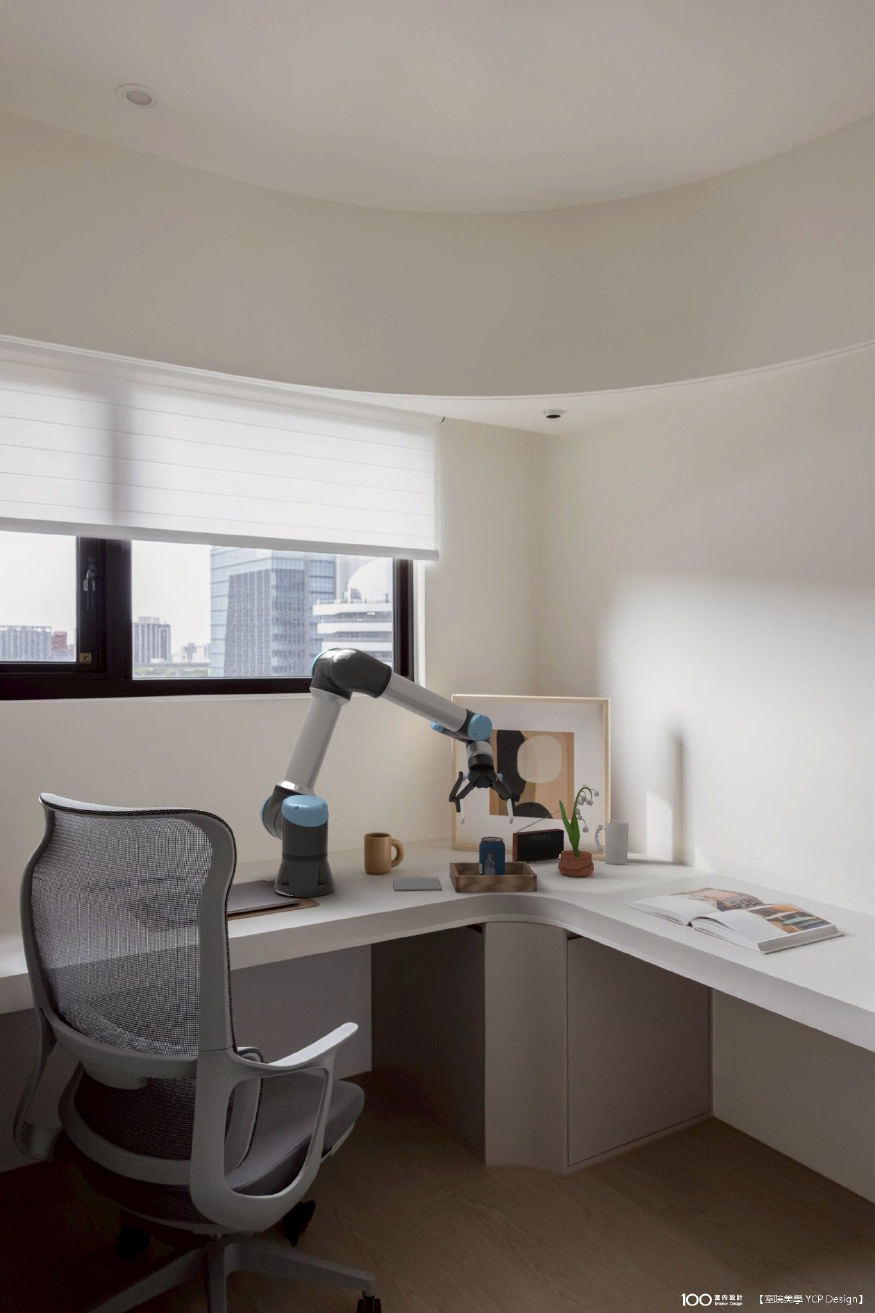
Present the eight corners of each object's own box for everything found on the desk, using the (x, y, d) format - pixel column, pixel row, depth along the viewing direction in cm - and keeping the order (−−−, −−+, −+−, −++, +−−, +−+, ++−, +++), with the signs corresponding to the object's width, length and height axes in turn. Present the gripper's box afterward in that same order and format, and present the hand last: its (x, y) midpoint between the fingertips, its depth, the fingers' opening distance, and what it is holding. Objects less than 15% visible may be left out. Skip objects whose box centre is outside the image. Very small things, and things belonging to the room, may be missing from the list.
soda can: (498, 880, 245) (499, 835, 245) (509, 886, 239) (509, 840, 239) (474, 881, 243) (475, 837, 243) (484, 888, 236) (485, 842, 236)
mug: (631, 861, 269) (631, 821, 269) (624, 866, 263) (624, 824, 263) (598, 857, 273) (598, 818, 273) (590, 862, 268) (591, 821, 268)
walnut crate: (455, 892, 232) (455, 876, 232) (449, 877, 248) (449, 862, 248) (536, 891, 234) (536, 875, 234) (525, 876, 250) (525, 861, 250)
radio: (517, 864, 265) (518, 812, 265) (512, 861, 267) (512, 811, 267) (570, 858, 273) (570, 808, 273) (564, 856, 276) (564, 806, 276)
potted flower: (589, 868, 260) (590, 781, 260) (607, 876, 250) (607, 785, 250) (551, 871, 256) (552, 782, 256) (567, 879, 246) (568, 787, 246)
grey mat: (394, 891, 233) (394, 889, 233) (392, 879, 245) (392, 877, 245) (441, 890, 234) (441, 888, 234) (437, 879, 246) (437, 877, 246)
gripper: (520, 768, 270) (529, 828, 255) (437, 768, 268) (441, 829, 253) (524, 752, 265) (533, 812, 250) (438, 752, 263) (443, 813, 248)
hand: (487, 821), depth 251 cm, fingers open, 13 cm apart
